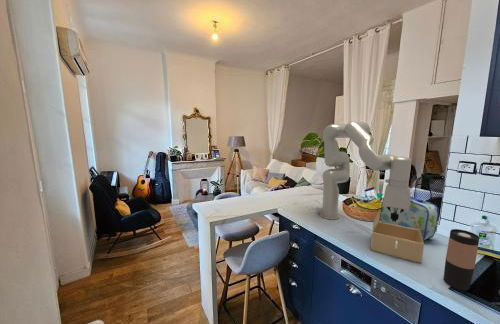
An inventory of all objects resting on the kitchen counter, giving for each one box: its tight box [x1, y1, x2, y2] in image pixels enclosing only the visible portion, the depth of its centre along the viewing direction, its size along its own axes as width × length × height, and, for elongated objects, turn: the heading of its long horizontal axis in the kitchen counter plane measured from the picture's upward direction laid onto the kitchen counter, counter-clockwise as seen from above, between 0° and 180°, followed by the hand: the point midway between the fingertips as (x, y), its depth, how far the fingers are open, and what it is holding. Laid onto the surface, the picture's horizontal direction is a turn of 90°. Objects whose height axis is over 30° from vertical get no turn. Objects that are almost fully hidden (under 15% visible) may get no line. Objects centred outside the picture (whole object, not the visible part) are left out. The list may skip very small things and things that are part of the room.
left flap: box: [372, 209, 381, 231], centre depth 106 cm, size 7×13×1 cm
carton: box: [369, 221, 425, 264], centre depth 102 cm, size 19×18×9 cm
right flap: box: [414, 215, 424, 243], centre depth 98 cm, size 7×13×1 cm
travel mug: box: [443, 228, 480, 291], centre depth 79 cm, size 8×8×20 cm
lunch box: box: [380, 195, 440, 241], centre depth 119 cm, size 26×11×21 cm, turn 21°
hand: (393, 220), depth 102 cm, fingers closed
